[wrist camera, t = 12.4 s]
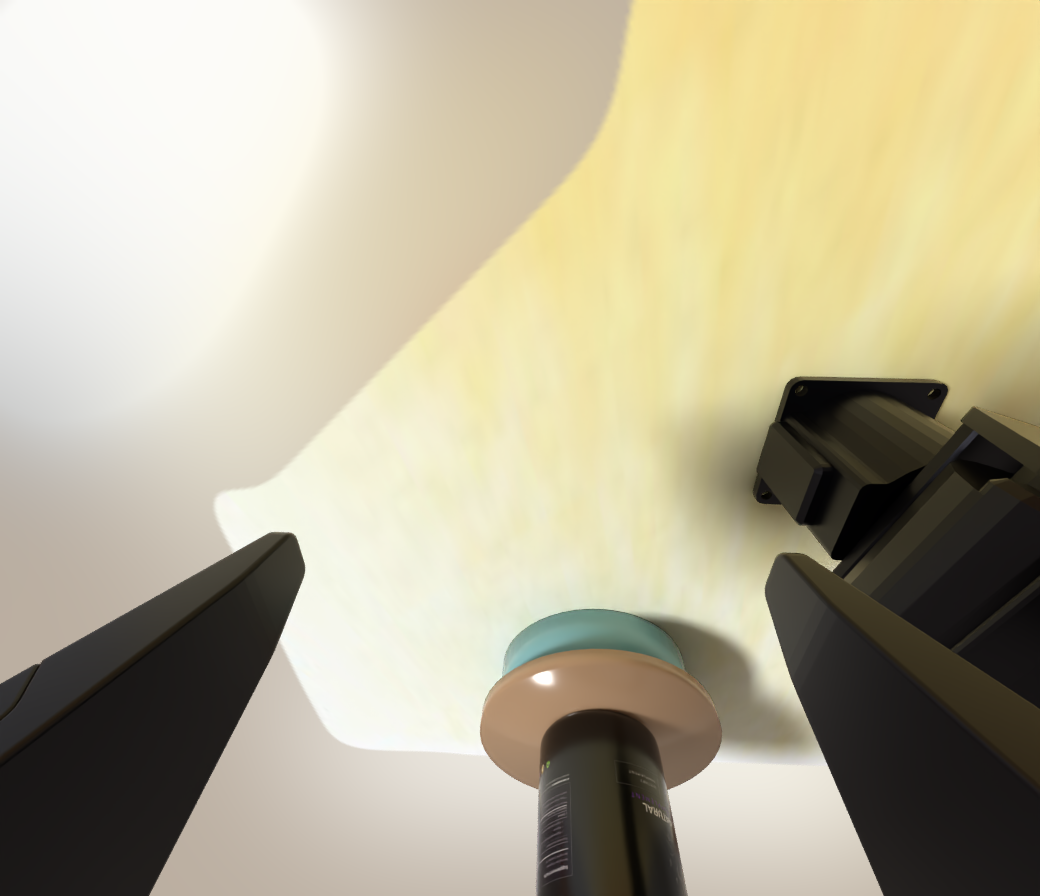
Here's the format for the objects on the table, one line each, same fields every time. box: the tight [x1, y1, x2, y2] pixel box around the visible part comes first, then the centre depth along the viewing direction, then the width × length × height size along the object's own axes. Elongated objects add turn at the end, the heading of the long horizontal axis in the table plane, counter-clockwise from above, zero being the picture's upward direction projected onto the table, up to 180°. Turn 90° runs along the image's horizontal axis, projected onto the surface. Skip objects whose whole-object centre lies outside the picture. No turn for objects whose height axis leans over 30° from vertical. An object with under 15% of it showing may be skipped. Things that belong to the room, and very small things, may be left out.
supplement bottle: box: [536, 710, 688, 896], centre depth 21 cm, size 7×7×12 cm
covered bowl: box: [480, 609, 722, 790], centre depth 28 cm, size 14×14×4 cm
